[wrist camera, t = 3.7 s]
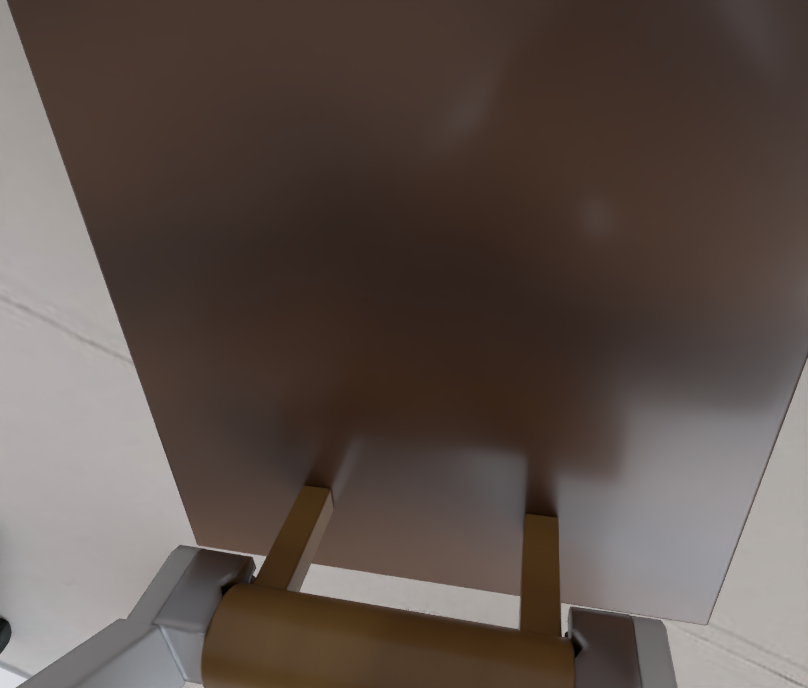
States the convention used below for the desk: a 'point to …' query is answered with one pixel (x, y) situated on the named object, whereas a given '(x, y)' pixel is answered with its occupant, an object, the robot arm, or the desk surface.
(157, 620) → the robot arm
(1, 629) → the ceramic cat
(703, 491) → the chest door
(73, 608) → the desk surface
